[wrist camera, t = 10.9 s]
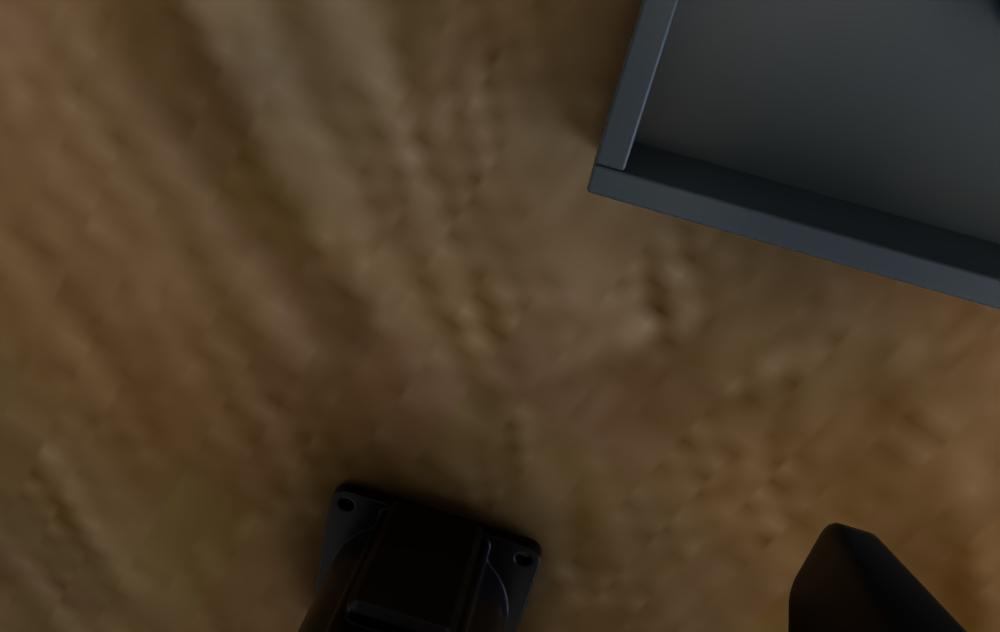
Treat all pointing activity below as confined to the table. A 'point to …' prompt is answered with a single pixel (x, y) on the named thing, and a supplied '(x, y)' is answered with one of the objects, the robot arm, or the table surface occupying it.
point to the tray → (820, 130)
